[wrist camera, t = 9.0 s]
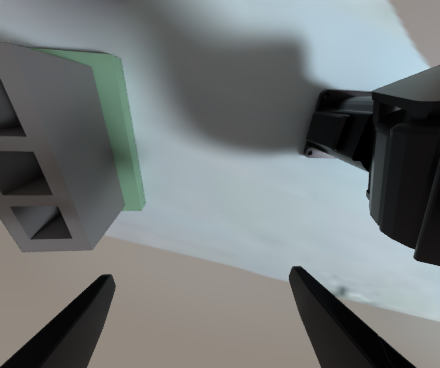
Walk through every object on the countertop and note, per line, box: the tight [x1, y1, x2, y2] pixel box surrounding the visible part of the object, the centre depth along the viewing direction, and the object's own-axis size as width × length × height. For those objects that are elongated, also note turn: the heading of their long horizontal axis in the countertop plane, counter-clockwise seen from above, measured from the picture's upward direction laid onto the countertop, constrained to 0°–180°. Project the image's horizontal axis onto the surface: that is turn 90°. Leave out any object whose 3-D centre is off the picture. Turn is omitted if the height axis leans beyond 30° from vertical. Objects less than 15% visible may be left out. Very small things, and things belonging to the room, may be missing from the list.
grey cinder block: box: [0, 43, 125, 252], centre depth 13 cm, size 5×12×6 cm, turn 177°
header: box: [28, 48, 146, 211], centre depth 14 cm, size 8×14×5 cm, turn 177°
